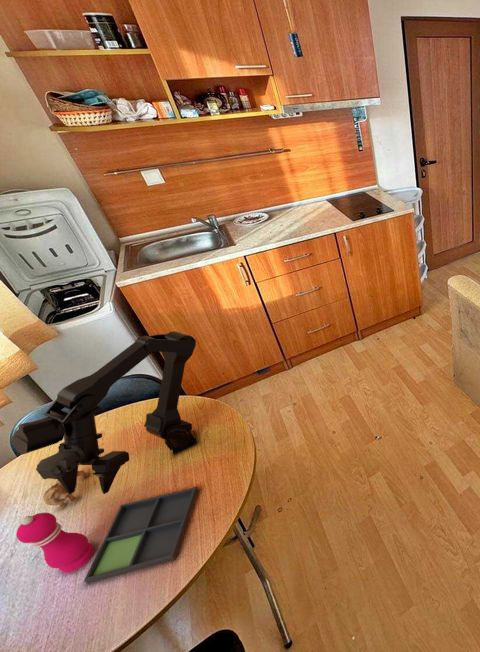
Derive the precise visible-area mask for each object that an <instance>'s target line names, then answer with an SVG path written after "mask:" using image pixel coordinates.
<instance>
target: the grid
mask: <svg viewBox="0 0 480 652" xmlns="http://www.w3.org/2000/svg"><path fill="white" fill-rule="evenodd" d="M198 493H199V489H198V488H197V486H196V487H195V486H194V487H191V488H187V489H182V490H178V491H174V492H170V493H166V494H162V495H158V496H152V497H149V498H144V499H140V500H137V501H136V500H135V501H131V502H127V503H124V504H121V505H120V506H119V508H118V510H117V512H116V514H115V516H114V518H113V521H112V522H111V524H110V527H109V529H108V530H107V533H106V535H105V537H104V539H103V541H102V543H101V545H100V547H99V549H98V551H97V552H96V555H95V557H94V559H93V561H92V563H91V565H90V567H89V569H88V570H87V573H86V576H85V578H84V579H83V582H85V583H86V584H88V585H90V584H93V583H97V582H100V581H104V580H107V579H111V578H115V577H118V576H122V575H125V574H128V573H129V574H130V573H133V572H136V571H137V572H138V571H140V570H143V569H144V570H145V569H148V568H151V567H154V566H158V565H162V564H165V563H169V562H172V561H175V560H176V559H177V556H178V553H179V550H180V547H181V545H182V541H183V539H184V535H185V532H186V530H187V527H188V524H189V521H190V517H191V514H192V510H193V508H194V505H195V502H196V499H197V496H198Z"/></svg>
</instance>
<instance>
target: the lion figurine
mask: <svg viewBox="0 0 480 652" xmlns="http://www.w3.org/2000/svg"><path fill="white" fill-rule="evenodd" d="M80 476H81V479H85V478H87V477H88V473H86V472H85V471H84V470H78V473H77V478H78V477H80ZM42 497H43V498H42V500H43V502H44V504H46V505H48V506H52V507H53V506H55V507H56V506H58V508H59V509H60V510H62V509H64V508H65V507H66V503H65V502H66V500H67V499H69V501H70V502H71V503H76V502H77V501H78V500H79V498H78V497H76V496H75V495H74V494H73V493H72V494H68V492H67V491H66V490H65V488H64V487H63V486H62V484H61V483H60V482H59V481H58V480H57V479H56V481H55V483H54V485H51V487H49V488H48V489H47V490H46V491H45V492H44V494H43V496H42Z"/></svg>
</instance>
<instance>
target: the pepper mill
mask: <svg viewBox="0 0 480 652" xmlns="http://www.w3.org/2000/svg"><path fill="white" fill-rule="evenodd" d="M15 536H16V539H17V540H18V541H19V542H21V543H23V544H29V545H31V546H32V547H34V548H40V549H41V550H42V552H43V557H44V561H45V564H46V565H48V566H49V567H50V568H52V569H58V570H59V571H61V572H62V573H67V574H68V573H73V572H75V571H78V570H79V569H80V568H82V567H84V566H85V565H86V564H87V563H88V562H89V561H90V559H91V558H92V557H93V555H94V553H95V547H94V545H93V544H92V543H90V542H89V539H88V536H86V535H85V534H83V533H79V532H67V531H65V530H63V529H62V525H61V523H59V522H58V521H57V517H56V516H55V515H54V514H52V513H51V512H38V513H35V514H33V515H26V516H24V517H23V518H22V519H21V520H20V525H19V526H18V528H17V530H16V533H15Z"/></svg>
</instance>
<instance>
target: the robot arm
mask: <svg viewBox="0 0 480 652" xmlns="http://www.w3.org/2000/svg"><path fill="white" fill-rule="evenodd" d="M196 346H197V340H196V339H195V337H194V336H191V335H189V334H186V333H183V332H179V331H176V330H175V331H174V330H173V331H169V332H168V333H157V334H152V335H141V336H138V337H137V338H136V339H135V341H134V342H133V343H132V344H130V345H129V346H128V347H126V348H125V349H124V350H122V351H121V352H120V353H119V354H117V355H116V356H115V357H113V358H112V359H111V360H109V361H108V362H107V363H105V364H104V365H103V366H101V367H100V368H99V369H98V370H97V371H95V372H93V373H92V374H90V375H87V376H84V377H81V378H79V379H77V380H75V381H73V382H71V383H70V384H67V385H66V386H65V387H62V389H61V390H59V391H58V392H57V394H56V396H57V397H56V399H54V401H53V402H52V403H51V404H50V406H49V407H48V408H47V409H46V411H44V412H43V415H44V416H46V417H43V418H40V419H37V420H34V421H28V422H24V423H20V424H18V429H16V430H15V432H14V435H12V442H13V446H14V448H15V450H16V452H17V453H19V454H20V455H26V454H30V453H32V452H35V451H38V450H41V449H43V448H47V447H50V446H52V445H55V444H59V445H58V447H57V449H58V451H57V452H55V453H54V454H51V455H50V456H48V457H45V458H43V459H41V460H40V461H39V462H38V464H37V465H36V468H35V471H36V472H37V473H38V475H40V477H41V478H42V480H52V479H53V480H56V481H57V480H58V481H59V482H60V483H61V484H62V486H63V487H64V488H65V490H66V491H67V492H68V494H72V495H73V493H75V491H76V487H77V480H78V477H77V473H78V471H79V466H91V470H92V471H93V473H92V475H93V476H95V477H97V478H98V481H99V485H100V491H101V492H102V494H103V495H106V494H108V493H109V492H110V490H111V487H112V486H113V483H114V480H115V478H116V476H117V475H118V472H119V471H120V469H121V467H122V466H124V465H125V464H126V463H128V462H130V453H129V451H126V450H112V451H110V452H108V453H106V454H104V455H102V454H103V453H105V448H103V447H102V448H100V446H99V445H100V444H99V439H102V438H103V433H102V432H101V433H100V432H99V433H98V431H97V423H96V417H95V416H96V414H99V413H103V412H105V411H106V408H104V407H102V406H99V404H100V403H101V402H102V401H103V400H104V399H105V398H106V397H107V394H108V393H109V391H110V389H111V387H113V385H115V383H116V382H118V381H119V380H120V379H122V378H123V377H124V376H125V375H126V374H128V373H129V372H130V371H131V370H133V369H134V368H135V367H137V366H138V365H139V364H140V363H142V361H143V360H145V359H146V358H147V357H149V356H150V355H151V354H152V353H162V357H163V359H164V366H163V372H162V377H161V383H160V389H159V394H158V399H157V404H156V405H157V406H156V408H155V409H154V410H153V411H152V412H149V413H146V415H145V422H144V424H143V427H144V428H145V430H146V432H147V433H149V434H151V435H152V436H155V437H157V438H160V439H162V440H164V444H165V446H166V447H167V448H168V449H169V451H172V455H174V456H175V455H178V454H179V453H182V452H184V451H186V450H188V449H190V448H192V447H194V446H196V445H197V444H198V440H197V434H196V431H195V430H193V424H192V423H191V422H188V421H186V420H184V419H182V417H181V414H180V412H179V409H178V407H179V406H178V405H179V400H180V394H181V389H182V382H183V377H184V372H185V366H186V363H187V362H188V360H190V358H191V357H192V356H193V354H194V351H195V348H196ZM63 409H67V410H69V412H66V411H64V410H63ZM62 441H63V442H62ZM59 442H61V443H59ZM100 455H102V456H100Z"/></svg>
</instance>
